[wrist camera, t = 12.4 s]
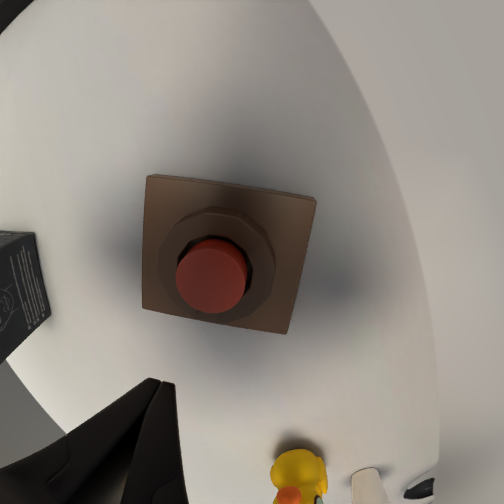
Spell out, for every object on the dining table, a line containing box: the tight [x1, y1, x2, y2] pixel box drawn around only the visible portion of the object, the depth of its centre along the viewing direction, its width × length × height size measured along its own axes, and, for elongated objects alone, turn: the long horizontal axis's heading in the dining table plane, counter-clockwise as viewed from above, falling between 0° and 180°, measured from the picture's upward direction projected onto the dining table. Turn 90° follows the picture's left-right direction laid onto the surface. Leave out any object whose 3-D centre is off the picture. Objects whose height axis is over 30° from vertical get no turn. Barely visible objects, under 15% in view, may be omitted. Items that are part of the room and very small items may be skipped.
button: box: [176, 239, 247, 313], centre depth 16 cm, size 4×4×2 cm
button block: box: [142, 174, 317, 334], centre depth 18 cm, size 10×9×3 cm
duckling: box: [270, 449, 328, 504], centre depth 21 cm, size 11×5×10 cm, turn 19°
